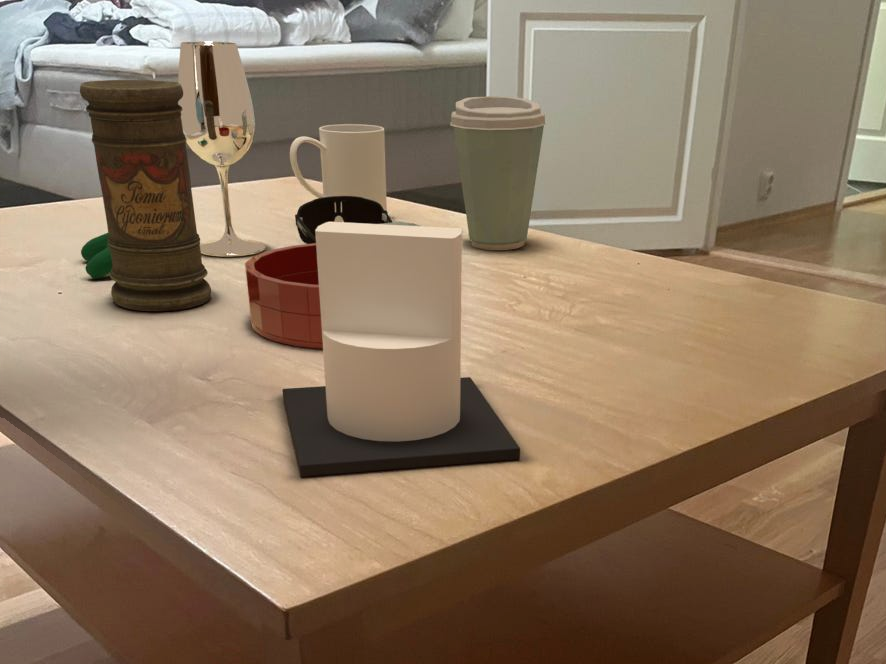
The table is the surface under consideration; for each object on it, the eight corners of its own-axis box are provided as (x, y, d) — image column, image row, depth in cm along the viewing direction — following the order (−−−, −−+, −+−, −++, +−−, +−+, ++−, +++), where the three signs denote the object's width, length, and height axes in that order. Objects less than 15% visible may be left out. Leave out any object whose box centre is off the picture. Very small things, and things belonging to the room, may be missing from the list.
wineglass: (193, 243, 114) (166, 40, 104) (262, 240, 116) (243, 41, 106) (198, 259, 108) (170, 44, 97) (271, 255, 110) (252, 45, 99)
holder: (300, 477, 62) (299, 465, 61) (283, 399, 73) (282, 388, 72) (520, 459, 64) (520, 448, 64) (470, 386, 76) (470, 376, 75)
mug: (369, 211, 132) (365, 122, 126) (398, 222, 127) (396, 130, 121) (283, 220, 126) (275, 127, 121) (310, 231, 121) (303, 135, 115)
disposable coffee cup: (553, 252, 114) (561, 104, 106) (462, 257, 111) (463, 105, 103) (524, 233, 123) (529, 94, 114) (439, 237, 120) (438, 95, 112)
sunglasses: (382, 238, 118) (382, 193, 115) (411, 275, 110) (412, 228, 106) (293, 243, 115) (291, 197, 112) (316, 282, 107) (314, 234, 103)
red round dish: (256, 354, 81) (250, 291, 79) (246, 300, 95) (241, 245, 92) (456, 343, 85) (456, 283, 82) (419, 293, 98) (418, 239, 96)
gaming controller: (115, 297, 101) (152, 251, 100) (82, 271, 99) (120, 224, 98) (108, 276, 108) (142, 233, 108) (77, 251, 106) (112, 207, 105)
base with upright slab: (469, 398, 71) (472, 219, 65) (448, 446, 64) (448, 249, 57) (346, 389, 72) (337, 212, 66) (311, 435, 65) (296, 241, 58)
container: (109, 291, 97) (71, 78, 87) (204, 284, 99) (178, 77, 90) (116, 316, 90) (75, 88, 80) (218, 308, 92) (191, 86, 83)
